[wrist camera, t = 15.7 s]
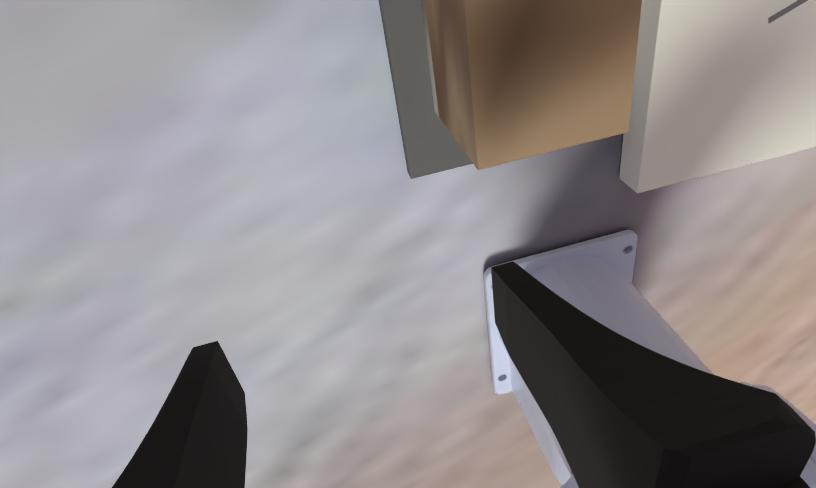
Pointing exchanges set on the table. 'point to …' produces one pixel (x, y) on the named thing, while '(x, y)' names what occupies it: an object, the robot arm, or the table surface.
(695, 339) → the table surface
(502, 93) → the block
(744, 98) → the board
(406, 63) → the mat
